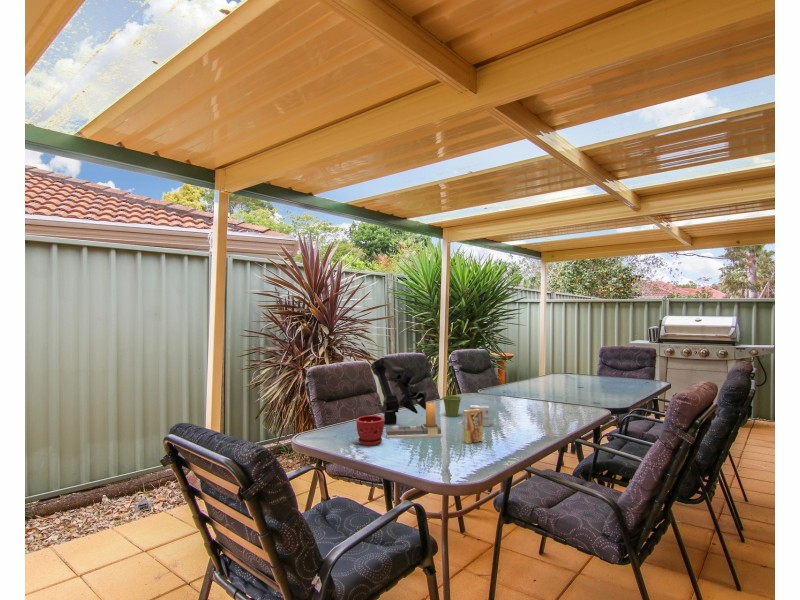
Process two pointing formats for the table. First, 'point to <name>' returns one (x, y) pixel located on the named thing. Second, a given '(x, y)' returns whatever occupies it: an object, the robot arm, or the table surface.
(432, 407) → the cap
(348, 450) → the table surface
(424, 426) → the breaker panel
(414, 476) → the table surface
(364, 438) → the plant pot
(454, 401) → the plant pot
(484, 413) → the light bulb box
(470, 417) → the candy box
